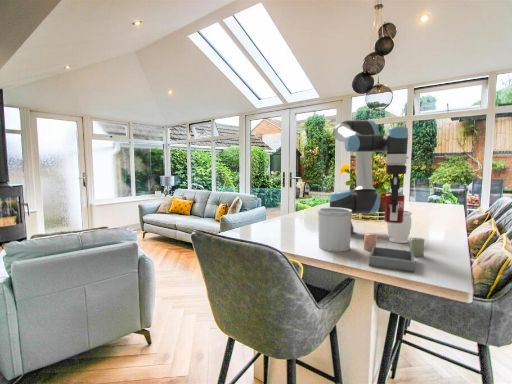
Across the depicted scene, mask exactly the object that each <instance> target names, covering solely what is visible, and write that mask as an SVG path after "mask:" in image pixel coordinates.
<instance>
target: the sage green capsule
mask: <svg viewBox="0 0 512 384" xmlns="http://www.w3.org/2000/svg"><path fill="white" fill-rule="evenodd" d="M425 243H426V241H425V238H422V237H410V246H409V251H413V255H414V258H420V259H421V257H422V258H424V257H425Z"/></svg>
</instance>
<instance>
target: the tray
mask: <svg viewBox="0 0 512 384" xmlns="http://www.w3.org/2000/svg"><path fill="white" fill-rule="evenodd" d="M368 266H369V267H376V268H380V269H381V268H382V269H388V270H394V271H401V272H408V273H413V274H414V273H415V257H414V255H413V251H410V250H405V249H397V248H389V247H388V248H387V247H381V246H380V247H379V246H376V247H372V250H371V251H370V254H369V255H368Z"/></svg>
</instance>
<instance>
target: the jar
mask: <svg viewBox="0 0 512 384" xmlns="http://www.w3.org/2000/svg"><path fill="white" fill-rule="evenodd" d="M411 215H413V212H412V211H410V210H409V211H408V210H404V218H403V223H402V224H391V223H386V227H387V234H388V235H389V238H388V241H389V242H392V243H397V244H406V243H409V240H408V238H409V236H410V233H411V229H412V216H411Z"/></svg>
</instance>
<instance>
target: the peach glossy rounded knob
mask: <svg viewBox="0 0 512 384" xmlns="http://www.w3.org/2000/svg"><path fill="white" fill-rule="evenodd" d="M363 235H364V237H363V239H364V240H363V250H364V251H366V252H371V250H372V247H377V239H378V238H377V236H378V235H377V233H373V232H365V233H364V234H363Z"/></svg>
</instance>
